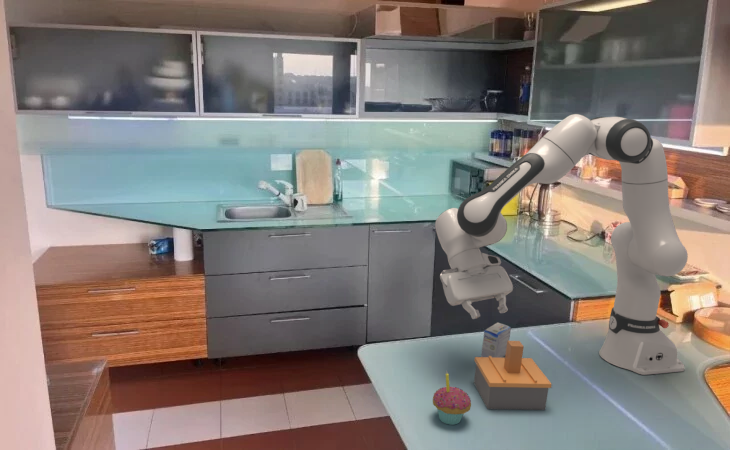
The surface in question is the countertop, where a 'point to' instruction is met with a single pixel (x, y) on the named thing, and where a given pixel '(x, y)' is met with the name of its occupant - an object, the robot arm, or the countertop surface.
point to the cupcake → (451, 403)
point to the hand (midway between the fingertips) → (490, 315)
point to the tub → (510, 395)
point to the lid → (512, 369)
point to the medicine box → (495, 340)
